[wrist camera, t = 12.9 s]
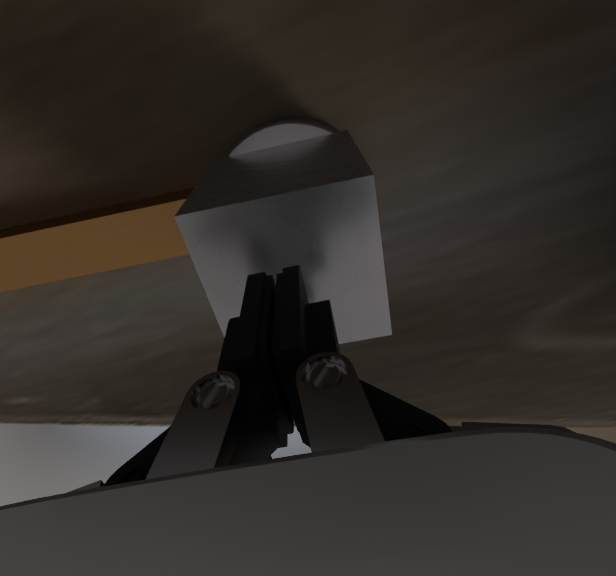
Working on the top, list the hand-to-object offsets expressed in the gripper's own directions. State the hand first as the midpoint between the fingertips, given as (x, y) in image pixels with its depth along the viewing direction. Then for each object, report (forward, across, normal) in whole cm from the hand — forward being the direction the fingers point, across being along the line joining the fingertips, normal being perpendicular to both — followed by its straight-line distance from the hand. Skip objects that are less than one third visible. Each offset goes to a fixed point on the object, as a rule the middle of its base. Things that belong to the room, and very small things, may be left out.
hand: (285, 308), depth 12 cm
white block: (+8, 0, 0) cm, 8 cm away
